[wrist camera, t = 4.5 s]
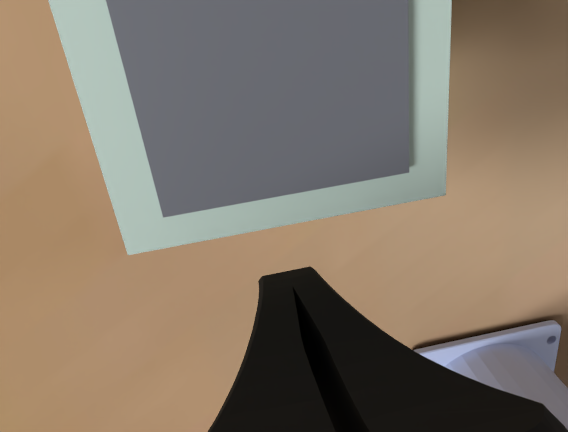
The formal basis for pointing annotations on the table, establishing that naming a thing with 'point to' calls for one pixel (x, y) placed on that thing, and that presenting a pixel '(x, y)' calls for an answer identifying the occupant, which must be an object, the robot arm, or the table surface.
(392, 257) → the table surface
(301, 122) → the sage block
